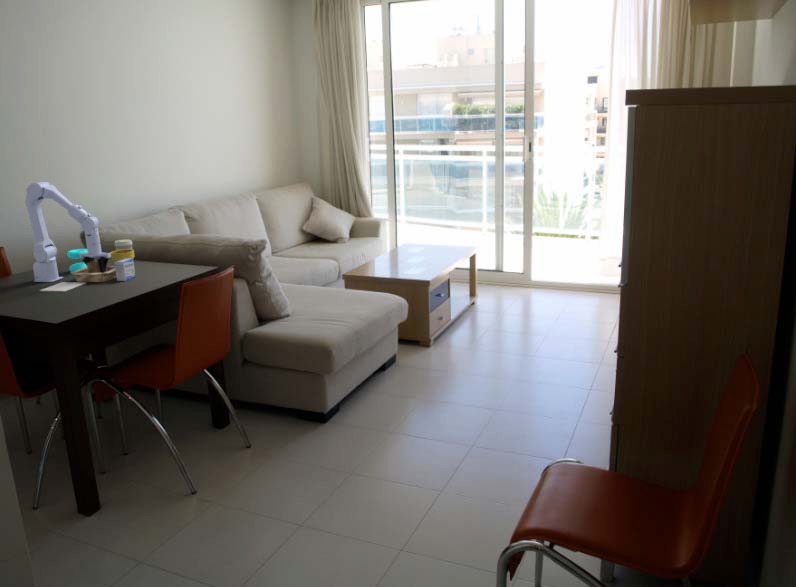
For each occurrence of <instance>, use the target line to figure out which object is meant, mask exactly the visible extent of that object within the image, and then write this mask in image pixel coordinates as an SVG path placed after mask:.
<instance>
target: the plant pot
mask: <svg viewBox="0 0 796 587" xmlns="http://www.w3.org/2000/svg"><path fill="white" fill-rule="evenodd" d="M110 253H111V257H110V259H111V261H113V264H114V265H115V262H117V261H120V260H123V259H127V258H131V259H133V260H134V258H135V249H133V248H132V249H123V250H116V249H115V250H113V251H110Z"/></svg>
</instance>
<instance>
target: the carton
mask: <svg viewBox="0 0 796 587" xmlns="http://www.w3.org/2000/svg"><path fill="white" fill-rule="evenodd" d="M69 274H70V275H74V277H75V282H82V283H89V282H90V283H106V282H108V281H111V280H113V278H114V279H117V276H116V270H115V265H107V272H104V273H88V267H84V268H82V269H79V270H76V271H73V272H71V271H70V272H69Z"/></svg>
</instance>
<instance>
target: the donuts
mask: <svg viewBox="0 0 796 587" xmlns="http://www.w3.org/2000/svg"><path fill="white" fill-rule="evenodd" d="M80 253H88V251H87V248H77V249H76V248H75V249H72V250H68V252H67V253H66V255H67V257H68V258H69V259H73V260H79V259H81V258H80V255H79V254H80ZM84 267H87V266H86V264H85V263H84V262H83V261H82V262H76V263H73V264H71V265H70V266H69V268H68V269H69V271H70V272H73V271H76V270H79V269H82V268H84Z"/></svg>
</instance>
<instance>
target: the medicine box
mask: <svg viewBox="0 0 796 587" xmlns="http://www.w3.org/2000/svg"><path fill="white" fill-rule="evenodd" d="M114 266H115V270H116V276H117V277H116V280H117V281H118V282H127V281H130V280H132V279H135V278H136V272H135V271H136V270H135V269H136V268H135V263H134V258H133V259H131V258H127V259H123V260H120V261H117V262H115V264H114ZM129 279H130V280H129Z"/></svg>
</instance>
